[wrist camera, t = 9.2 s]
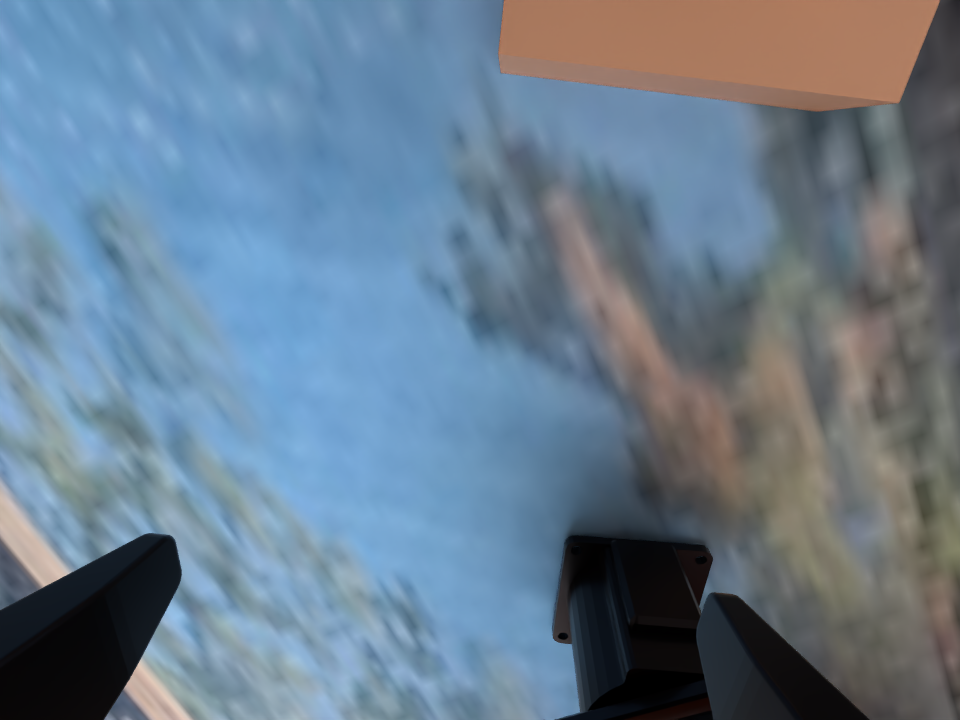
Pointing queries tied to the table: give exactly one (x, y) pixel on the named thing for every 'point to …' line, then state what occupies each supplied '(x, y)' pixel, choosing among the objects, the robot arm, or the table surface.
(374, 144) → the table surface
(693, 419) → the table surface
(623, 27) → the terracotta base block
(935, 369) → the table surface
